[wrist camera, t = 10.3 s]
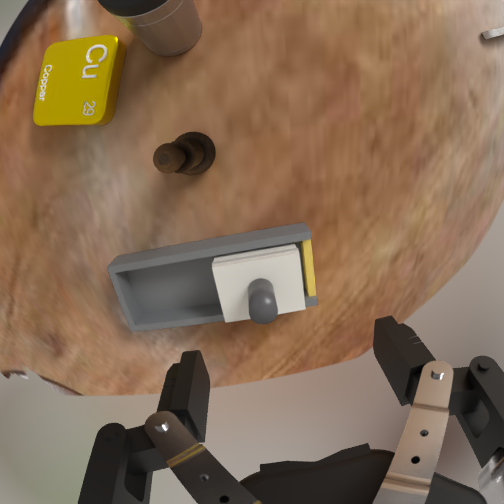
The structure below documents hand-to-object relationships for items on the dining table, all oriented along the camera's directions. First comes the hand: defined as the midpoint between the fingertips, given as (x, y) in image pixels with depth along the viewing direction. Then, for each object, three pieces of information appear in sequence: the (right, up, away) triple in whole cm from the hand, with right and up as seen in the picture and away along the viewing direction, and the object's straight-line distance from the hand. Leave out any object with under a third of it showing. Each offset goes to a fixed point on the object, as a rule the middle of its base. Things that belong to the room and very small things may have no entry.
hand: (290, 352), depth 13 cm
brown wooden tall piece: (-10, +19, +31) cm, 38 cm away
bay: (-8, +1, +38) cm, 39 cm away
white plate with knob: (-1, +2, +36) cm, 36 cm away
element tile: (-30, +33, +26) cm, 52 cm away
